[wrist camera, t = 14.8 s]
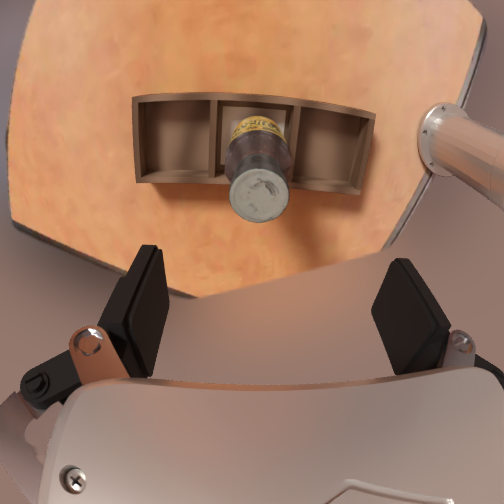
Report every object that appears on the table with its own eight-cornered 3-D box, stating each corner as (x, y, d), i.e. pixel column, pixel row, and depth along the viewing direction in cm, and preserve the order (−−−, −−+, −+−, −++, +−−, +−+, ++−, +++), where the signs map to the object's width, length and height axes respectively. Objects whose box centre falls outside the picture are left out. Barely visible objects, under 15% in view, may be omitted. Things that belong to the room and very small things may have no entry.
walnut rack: (364, 110, 33) (375, 114, 30) (350, 184, 40) (359, 195, 37) (142, 95, 32) (131, 97, 28) (145, 173, 38) (136, 183, 35)
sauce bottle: (276, 110, 33) (311, 142, 16) (283, 155, 36) (318, 228, 20) (225, 119, 33) (206, 159, 17) (235, 163, 37) (227, 243, 20)
